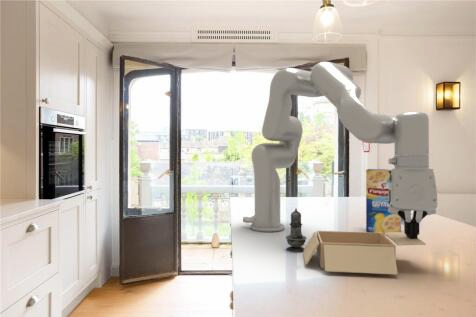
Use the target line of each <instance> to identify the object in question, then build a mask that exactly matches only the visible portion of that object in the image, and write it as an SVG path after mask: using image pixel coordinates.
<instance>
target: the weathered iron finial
mask: <svg viewBox="0 0 476 317" xmlns="http://www.w3.org/2000/svg"><path fill="white" fill-rule="evenodd" d="M289 226H290V232H289V235H286V236H285V239H286V242H287V244H288V245H289V246H288V247H287V248H286V251H288V252H290V253H304V249H305V247H303V246H304V245H305V242H306V240H307V237H306V236H304V235H303V234H302V226H303V223H302V213H301V212H300V211H298V208H295V209H294V211H292V212H291V214H290V223H289Z"/></svg>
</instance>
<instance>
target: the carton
mask: <svg viewBox="0 0 476 317" xmlns="http://www.w3.org/2000/svg"><path fill="white" fill-rule="evenodd" d="M396 245H397V244H396V243H395V244H394V242H393V241H392V240H391V239H390V238H387V236H386V235H385V234H382V233H372V232H366V231H365V232H364V231H336V230H335V231H334V230H333V231H332V230H329V231H328V230H316V232H315V231H314V232H313V234H312V235H311V237H310V239H309V241H308V242H307V244H306V246H305V247H304V252H303V257H304V264H305V265H306V266H307V265H308V264H309V263H310V260H311V259H312V257H313V256H314V253H315V252H316V256H317V259H318V263H319V268H320V270H322V271H324V272H332V273H333V272H334V273H354V274H355V273H357V274H373V275H375V274H379V275H395V276H396V275H398V266H397V260H396V258H397V257H396V256H397V254H396V248H397V246H396Z"/></svg>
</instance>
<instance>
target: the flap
mask: <svg viewBox="0 0 476 317" xmlns="http://www.w3.org/2000/svg"><path fill="white" fill-rule="evenodd" d="M383 235H384V236H385V237H386V238H387V237H388V239H389V240H390V241H391V242H392V243H393V244H394V243H395V245H397V246H425V245H426V243H425V242H424V241H423V240H421V238H417V239H414V238H413V239H410V238H408V237H407V236H406V234H405V233H404V231H401V232H388V233H384V234H383Z"/></svg>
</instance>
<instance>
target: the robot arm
mask: <svg viewBox="0 0 476 317" xmlns="http://www.w3.org/2000/svg"><path fill="white" fill-rule="evenodd" d="M310 69H311V70H304V69H301V68H295V67H285V68H281V69H279V70H278V71H276V73H275V74H274V75H273V76H272V78H271V82H270V84H269V86H270V87H269V97H268V102H267V103H268V104H267V107H266V111H265V115H264V119H263V124H262V129H261V134H262V137H263V138H264V139H266V140H268V141H271V142H266V143H265V142H263V143H259V144H257V145H256V146H254V148H253V149H252V152H251V162H252V167H253V177H254V178H253V182H254V215H253V216H251V217H250V216H249V217H248V216H243V217H242V222H243V223H247V224H248V223H250V229H251V230H252V231H256V232H266V233H269V232H272V233H273V232H281V231H284V230H285V224H283V223H281V179H280V175H279V173H278V171H277V169H278V170H279V169H287V168H290V167H292V165H293V164H294V163H295V161H296V158H297V154H298V151H299V148H300V144H301V140H302V138H303V125H302V124H303V123H302V122H301V120H300V119H299V118H298V117H295V116H292V115H291V111H292V109H293V101H292V97H291V96H292V95H294V96H301V97H306V98H307V97H308V98H320V97H325V98H326V99H327V100H328V101H329V102H330V103H331V104H332V105H333V106H334V107H335V108H336V113H337V117H338V120H339V121H340V123H341V124H342V125H343V126H344V127H345V128H346V130H348V132H349V133H350V134H351V135H353V136H354V137H355V138H356V139H358V140H359V141H361V142H363V143H366V144H378V145H379V144H380V145H387V144H388V145H389V144H394V155H393V157H392V158H388V165H393V167H394V168H392V171H391V176H390V183H389V194H388V201H389V208H388V212H390V213H392V214H396V215H399V216H400V217H401V218H402V219H403V220H404V224H403V228H404V229H403V230H404V231H403V232H404V233H405V234H406V236H407V237H408V238H410V239H413V238H414V239H417V238H418V236H419V235H420V223H421V222H422V221H423V219H425V218H426V217H427V216H431V215H435V214H436V213H437V210H436V209H437V207H438V191H437V183H436V176H435V172H434V169H433V168H430V156H429V155H430V137H429V136H430V131H429V130H430V123H429V122H430V119H429V116H428V114H427V113H425V112H422V111H420V112H419V111H411V112H409V111H408V112H402V113H399V114H397V115H386V114H379V113H373V112H372V111H371V110H369V109H368V108H367V107H366V106H365V105H363V103H362V102H361V101H360V100H359V98H360V97H361V95H362V89H361V87H360V86H359V85H358V84H357V83H356V82H355V81H354V77H353V72H352V71H351V70H350V69H349V67H347V66H345V65H342V64H339V63H334V62H331V61H320V62H318V63H316V64H314V65H313V66H312V67H311V68H310ZM274 142H278V143H274ZM410 210H411V211H412V215H411V216H410ZM418 239H419V238H418Z"/></svg>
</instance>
